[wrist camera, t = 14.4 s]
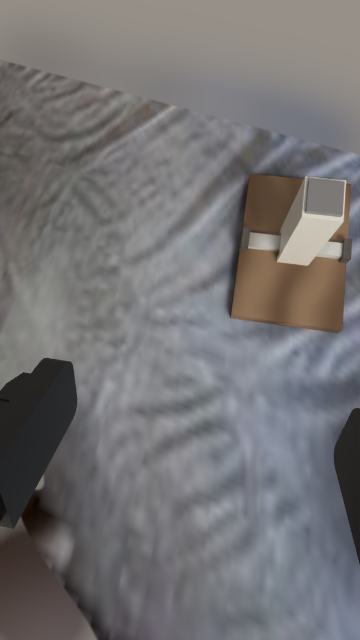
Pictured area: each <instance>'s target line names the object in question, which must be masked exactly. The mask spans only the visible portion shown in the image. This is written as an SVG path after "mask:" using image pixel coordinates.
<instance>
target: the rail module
mask: <svg viewBox="0 0 360 640" xmlns="http://www.w3.org/2000/svg"><path fill="white" fill-rule="evenodd" d="M345 191H346V181H345V180H335V179H325V178H316V177H306V176H305V179H304V181H303V183H302V185H301V187H300V189H299V191H298V193H297V195H296V198H295V200H294V202H293V204H292V206H291V208H290V210H289V212H288V214H287V217H286V219H285V221H284V223H283V225H282V227H281V229H280V235H281V240H280V250H279V255H278V257H277V262H281V263H289V264H297V265H305V266H308V265H309V264H310V263H311V261H312V260H313V259H314V258H315V256H316V255H317V254H318V253H319V251H320V250H321V249H322V248H323V247H324V245H325V244H326V243H327V242H328V240H329V239H330V238H331V237H332V235H333V234H334V233H335V232H336V231H337V229H338V228H339V227H340V226H341V224H342V223H343V222H344V207H345Z"/></svg>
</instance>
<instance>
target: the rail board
mask: <svg viewBox="0 0 360 640" xmlns="http://www.w3.org/2000/svg"><path fill="white" fill-rule="evenodd" d="M303 181H304V179H298V178H289V177H279V176H269V175H259V174H250V176H249V180H248V188H247V195H246V203H245V211H244V218H243V226H242V233H241V241H240V249H239V256H238V264H237V271H236V279H235V287H234V294H233V302H232V309H231V317H230V318H234V319H241V320H248V321H255V322H262V323H270V324H277V325H284V326H291V327H298V328H305V329H312V330H319V331H326V332H334V333H338V332H340V331H342V327H343V310H344V293H345V277H346V263H347V262H348V261H349V260H351V247H352V239H348V226H349V210H350V193H351V184H347V183H346V191H345V207H344V222H343V223H342V224H341V226H340V227H339V228H338V229H337V231H336V232H335V233H334V234H333V235H332V237H331V238H330V239H329V240H328V242H327V243H326V244H325V245H324V247H323V248H322V249H321V250H320V251H319V253H318V254H317V255H316V256H315V258H314V259H313V260H312V261H311V263H310V264H309V265H308V266H305V265H297V264H289V263H281V262H277V257H278V255H279V250H280V240H281V235H280V229H281V227H282V225H283V223H284V221H285V219H286V217H287V214H288V212H289V210H290V208H291V206H292V204H293V202H294V200H295V198H296V195H297V193H298V191H299V189H300V187H301V185H302V183H303Z"/></svg>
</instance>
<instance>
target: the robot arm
mask: <svg viewBox="0 0 360 640" xmlns="http://www.w3.org/2000/svg"><path fill="white" fill-rule="evenodd" d="M76 407H77V393H76V385H75V377H74V369H73V365H72V363H71V362H69V361H63V360H57V359H50V358H44V359H42V360H41V361H40V363H39V364H38V365H37V366H36V368H35V369H34V370H33V372H32V373H31V374H30V373H24V372H23V373H22V374H20V375H19V376H17V377H16V378H14V379H13V380H11V381H10V382H8V383H6V385H5V386H4V387H3V388H2V389H1V391H0V526H3V527H8V528H13V529H14V527H15V526H16V524H17V522H18V520H19V518H20V516H21V514H22V513H23V511H24V509H25V507H26V505H27V503H28V501H29V500H30V498H31V496H32V494H33V492H34V490H35V488H36V487H37V485H38V483H39V481H40V479H41V477H42V475H43V474H44V472H45V470H46V468H47V466H48V464H49V462H50V461H51V459H52V457H53V455H54V453H55V451H56V449H57V448H58V446H59V444H60V442H61V440H62V438H63V436H64V435H65V433H66V431H67V429H68V427H69V425H70V423H71V422H72V420H73V417H74V415H75V412H76ZM334 464H335V469H336V473H337V477H338V481H339V485H340V489H341V492H342V496H343V500H344V504H345V508H346V512H347V516H348V520H349V524H350V528H351V532H352V536H353V539H354V543H355V547H356V551H357V555H358V559H359V563H360V409H359V408H355V409H354V410H353V411H352V412H351V414H350V416H349V418H348V420H347V422H346V424H345V426H344V428H343V430H342V432H341V434H340V436H339V438H338V440H337V443H336V445H335V450H334Z"/></svg>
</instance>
